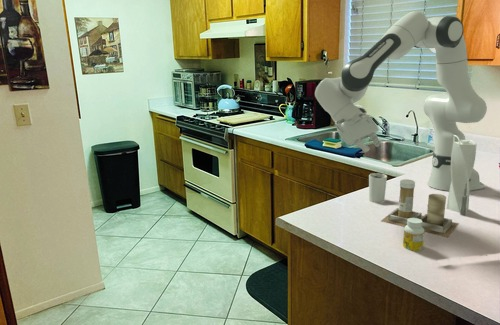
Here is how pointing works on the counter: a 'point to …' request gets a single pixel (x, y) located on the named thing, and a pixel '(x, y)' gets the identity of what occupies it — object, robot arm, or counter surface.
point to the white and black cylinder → (377, 187)
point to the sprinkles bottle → (406, 198)
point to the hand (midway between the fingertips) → (373, 148)
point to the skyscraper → (461, 174)
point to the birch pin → (436, 209)
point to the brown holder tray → (429, 228)
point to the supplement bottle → (413, 235)
